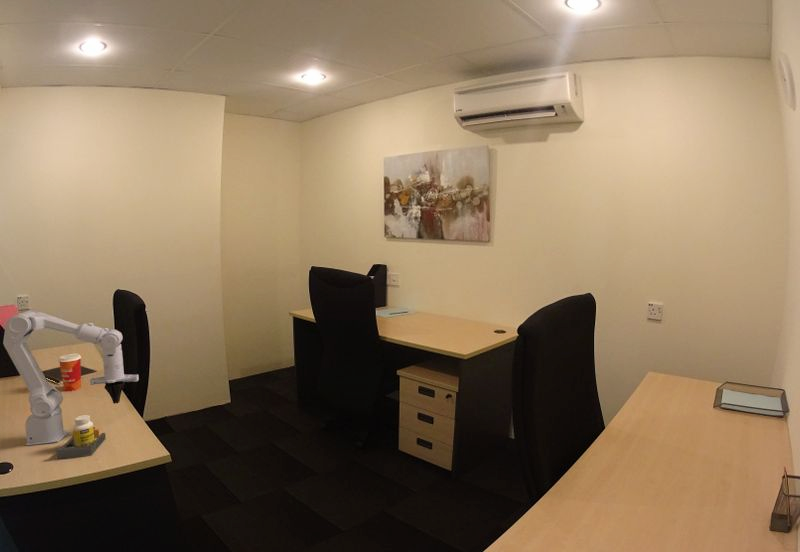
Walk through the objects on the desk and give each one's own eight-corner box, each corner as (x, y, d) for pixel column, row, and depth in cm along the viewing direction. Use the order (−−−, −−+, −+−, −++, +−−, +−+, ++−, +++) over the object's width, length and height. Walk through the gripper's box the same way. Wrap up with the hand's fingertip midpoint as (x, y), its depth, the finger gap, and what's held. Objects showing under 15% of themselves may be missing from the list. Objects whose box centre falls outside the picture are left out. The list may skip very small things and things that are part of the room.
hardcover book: (73, 367, 228) (73, 363, 228) (97, 375, 217) (97, 370, 216) (36, 377, 214) (35, 372, 214) (59, 385, 203) (58, 380, 203)
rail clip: (56, 459, 138) (56, 450, 138) (77, 437, 152) (76, 429, 152) (91, 455, 141) (90, 446, 140) (109, 434, 154) (108, 426, 154)
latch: (84, 438, 151) (83, 429, 151) (86, 437, 152) (85, 427, 152) (99, 437, 152) (98, 427, 152) (100, 435, 154) (99, 426, 153)
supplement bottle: (81, 451, 143) (78, 422, 142) (71, 447, 146) (68, 419, 144) (98, 443, 148) (95, 415, 147) (88, 440, 150) (85, 412, 149)
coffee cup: (56, 390, 195) (53, 357, 194) (76, 384, 203) (73, 352, 201) (69, 393, 192) (65, 359, 190) (88, 386, 200) (85, 354, 198)
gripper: (84, 370, 150) (88, 409, 152) (132, 366, 154) (135, 404, 155) (93, 364, 157) (96, 401, 159) (139, 360, 161) (142, 397, 162)
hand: (116, 402), depth 157 cm, fingers closed
